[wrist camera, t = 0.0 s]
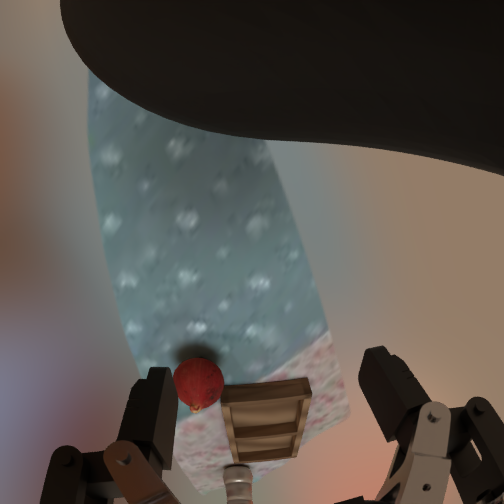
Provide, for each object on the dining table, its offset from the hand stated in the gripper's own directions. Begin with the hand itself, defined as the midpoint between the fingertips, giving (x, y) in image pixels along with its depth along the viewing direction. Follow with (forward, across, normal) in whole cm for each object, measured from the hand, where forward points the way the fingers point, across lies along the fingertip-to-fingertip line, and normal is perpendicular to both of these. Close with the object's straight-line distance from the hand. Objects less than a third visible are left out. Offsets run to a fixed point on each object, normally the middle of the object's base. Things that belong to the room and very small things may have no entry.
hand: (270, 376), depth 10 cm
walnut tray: (+20, -2, +32) cm, 38 cm away
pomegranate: (+18, +6, +15) cm, 25 cm away
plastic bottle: (+21, +4, +54) cm, 58 cm away
